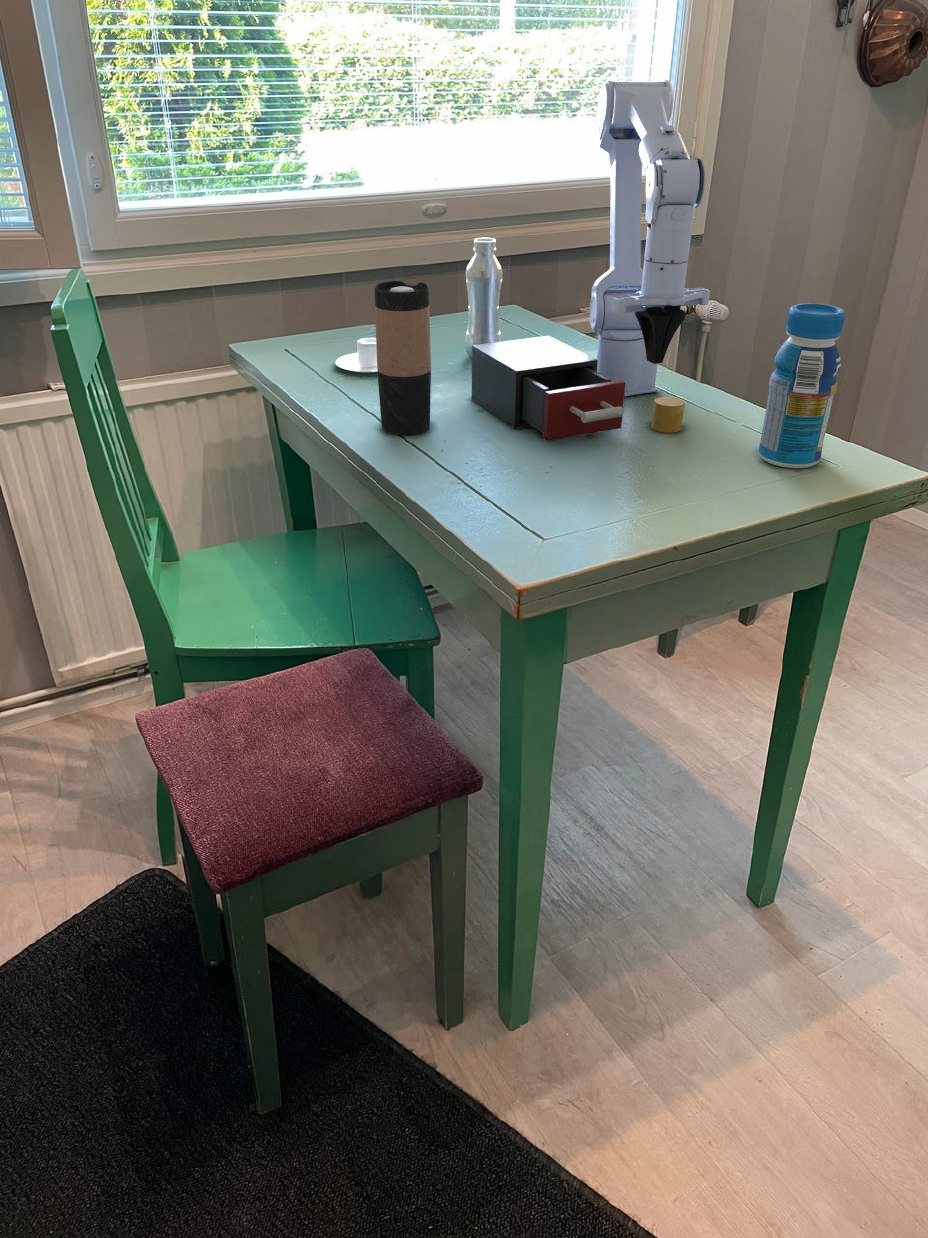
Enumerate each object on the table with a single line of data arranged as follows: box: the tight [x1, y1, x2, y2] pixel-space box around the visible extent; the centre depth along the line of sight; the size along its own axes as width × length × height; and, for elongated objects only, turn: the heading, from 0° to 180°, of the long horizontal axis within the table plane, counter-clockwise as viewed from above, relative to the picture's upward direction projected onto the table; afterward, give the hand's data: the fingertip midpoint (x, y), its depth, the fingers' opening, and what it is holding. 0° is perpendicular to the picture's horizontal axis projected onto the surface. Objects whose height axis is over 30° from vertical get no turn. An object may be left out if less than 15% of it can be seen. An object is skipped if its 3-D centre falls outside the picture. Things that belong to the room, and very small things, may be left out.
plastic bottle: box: [464, 237, 504, 359], centre depth 163 cm, size 6×7×20 cm
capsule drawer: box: [519, 367, 625, 442], centre depth 135 cm, size 18×12×7 cm
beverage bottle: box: [758, 302, 846, 469], centre depth 123 cm, size 8×8×20 cm
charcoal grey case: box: [471, 335, 598, 430], centre depth 143 cm, size 15×14×9 cm
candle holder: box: [335, 337, 378, 374], centre depth 163 cm, size 12×12×4 cm
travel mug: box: [373, 280, 432, 437], centre depth 133 cm, size 8×8×20 cm
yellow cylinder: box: [651, 395, 686, 434], centre depth 137 cm, size 4×4×4 cm
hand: (654, 361), depth 131 cm, fingers closed
